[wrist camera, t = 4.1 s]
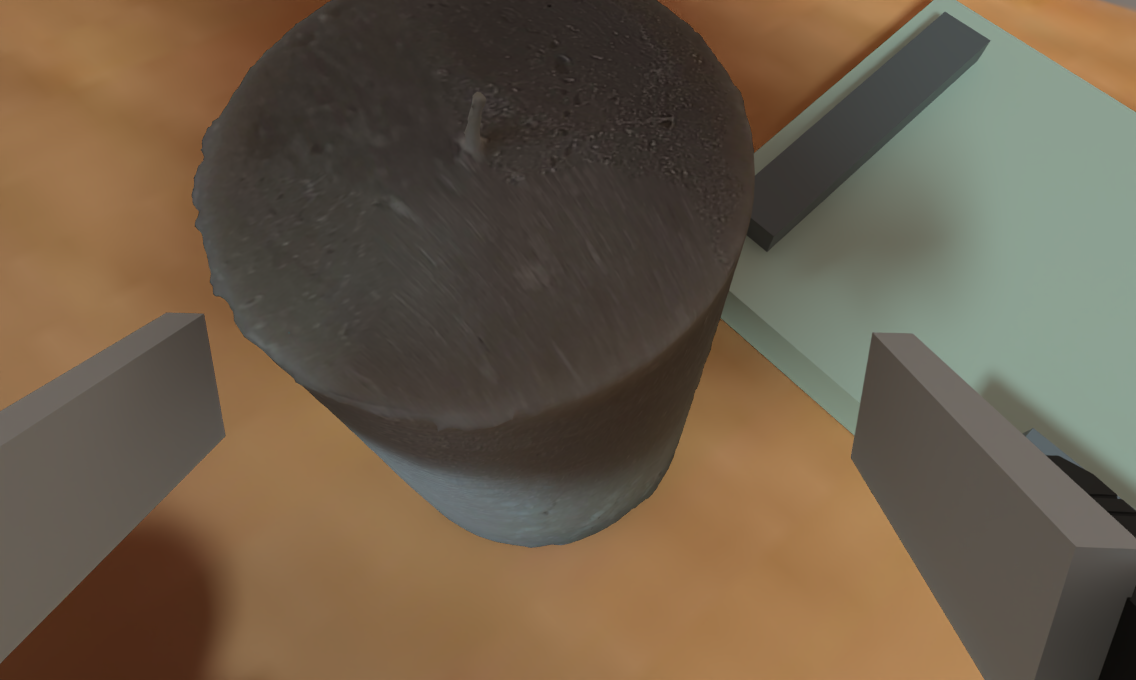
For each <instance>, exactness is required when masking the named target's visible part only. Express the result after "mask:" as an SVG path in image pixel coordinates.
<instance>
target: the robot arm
mask: <svg viewBox="0 0 1136 680" xmlns="http://www.w3.org/2000/svg"><path fill="white" fill-rule="evenodd" d="M224 437H225V430H224V425H223V419H222V413H221V408H220V402H219V396H218V390H217V385H216V379H215V373H214V368H213V362H212V356H211V351H210V345H209V339H208V334H207V328H206V322H205V316H204V314H195V313H165V314H163V315H162V316H160V317H158V318H157V319H155V320H153V321H152V322H150V323H148V324H147V325H145V326H143V327H142V328H140V329H138V330H137V331H135V332H133V333H131V334H130V335H128V336H126V337H125V338H123V339H121V340H120V341H118V342H116V343H115V344H113V345H111V346H110V347H108V348H106V349H104V350H103V351H101V352H99V353H98V354H96V355H94V356H93V357H91V358H89V359H88V360H86V361H84V362H83V363H81V364H79V365H78V366H76V367H74V368H72V369H71V370H69V371H67V372H66V373H64V374H62V375H61V376H59V377H57V378H56V379H54V380H52V381H51V382H49V383H47V384H45V385H44V386H42V387H40V388H39V389H37V390H35V391H34V392H32V393H30V394H29V395H27V396H25V397H24V398H22V399H20V400H19V401H17V402H15V403H13V404H12V405H10V406H8V407H7V408H5V409H3V410H2V411H0V663H1V662H2V661H3V660H4V659H5V658H6V657H7V656H8V655H9V654H10V653H11V652H12V651H13V650H14V649H15V648H16V647H17V646H18V645H19V644H20V643H21V642H22V641H23V640H24V639H25V638H26V637H27V636H28V635H29V634H30V633H31V632H32V631H33V630H34V629H35V628H36V627H37V626H38V625H39V624H40V623H41V622H42V621H43V620H44V619H45V618H46V617H47V616H48V615H49V614H50V613H51V612H52V611H53V610H54V609H55V608H56V607H57V606H58V605H59V604H60V603H61V602H62V601H63V600H64V599H65V598H66V597H67V596H68V595H69V594H70V593H71V592H72V591H73V590H74V589H75V588H76V587H77V586H78V585H79V583H80V582H81V581H82V580H83V579H84V578H85V577H86V576H87V575H88V574H89V573H90V572H91V571H92V570H93V569H94V568H95V567H96V566H97V565H98V564H99V563H100V562H101V561H102V560H103V559H104V558H105V557H106V556H107V555H108V554H109V553H110V552H111V551H112V550H113V549H114V548H115V547H116V546H117V545H118V544H119V543H120V542H121V541H122V540H123V539H124V538H125V537H126V536H127V535H128V534H129V533H130V532H131V531H132V530H133V529H134V528H135V527H136V526H137V525H138V524H139V523H140V522H141V521H142V520H143V519H144V518H145V517H146V516H147V515H148V514H149V513H150V512H151V511H152V510H153V509H154V508H155V507H156V506H157V505H158V504H159V503H160V502H161V501H162V500H163V499H164V498H165V497H166V496H167V495H168V494H169V493H170V492H171V491H172V490H173V489H174V488H175V487H176V486H177V485H178V484H179V483H180V482H181V481H182V480H183V479H184V478H185V476H186V475H187V474H188V473H189V472H190V471H191V470H192V469H193V468H194V467H195V466H196V465H197V464H198V463H199V462H200V461H201V460H202V459H203V458H204V457H205V456H206V455H207V454H208V453H209V452H210V451H211V450H212V449H213V448H214V447H215V446H216V445H217V444H218V443H219V442H220V441H221V440H222V439H223V438H224ZM851 459H852V460H853V462H854V464H855V465H856V467H857V469H858V470H859V472H860V474H861V475H862V477H863V479H864V480H865V482H866V484H867V485H868V487H869V489H870V490H871V492H872V494H873V495H874V497H875V499H876V500H877V502H878V504H879V505H880V507H881V509H882V510H883V512H884V514H885V515H886V517H887V519H888V520H889V522H890V524H891V525H892V527H893V528H894V530H895V532H896V533H897V535H898V537H899V538H900V540H901V542H902V543H903V545H904V547H905V548H906V550H907V552H908V553H909V555H910V557H911V558H912V560H913V562H914V563H915V565H916V567H917V568H918V570H919V572H920V573H921V575H922V577H923V578H924V580H925V582H926V583H927V585H928V587H929V588H930V590H931V592H932V593H933V595H934V597H935V598H936V600H937V601H938V603H939V605H940V606H941V608H942V610H943V611H944V613H945V615H946V616H947V618H948V620H949V621H950V623H951V625H952V626H953V628H954V630H955V631H956V633H957V635H958V636H959V638H960V640H961V641H962V643H963V645H964V646H965V648H966V650H967V651H968V653H969V655H970V656H971V658H972V660H973V661H974V663H975V665H976V666H977V668H978V670H979V671H980V673H981V674H982V676H983V678H984V679H985V680H1136V511H1135V510H1134V509H1133V508H1132V507H1131V506H1130V505H1128V504H1127V503H1126V502H1125V501H1124V500H1123V499H1118V498H1117V494H1116V493H1115V492H1113V491H1112V490H1111V489H1110V488H1109V487H1108V486H1107V485H1105V484H1104V483H1103V482H1102V481H1101V480H1100V479H1098V478H1097V477H1096V476H1095V475H1094V474H1092V473H1091V472H1089V471H1087V470H1085V469H1083V468H1081V467H1079V466H1077V465H1075V464H1074V463H1072V462H1070V461H1068V460H1066V459H1064V458H1062V457H1060V456H1057V455H1045V454H1044V453H1043V452H1042V451H1040V450H1039V449H1038V448H1037V447H1036V446H1035V445H1034V444H1033V443H1032V442H1031V441H1030V440H1028V439H1027V438H1026V437H1025V436H1024V435H1023V434H1022V433H1021V432H1020V431H1019V430H1018V429H1016V428H1015V427H1014V426H1013V425H1012V424H1011V423H1010V422H1009V421H1008V420H1007V419H1006V418H1004V417H1003V416H1002V415H1001V414H1000V413H999V412H998V411H997V410H996V409H995V408H994V407H993V406H991V405H990V404H989V403H988V402H987V401H986V400H985V399H984V398H983V397H982V396H981V395H979V394H978V393H977V392H976V391H975V390H974V389H973V388H972V387H971V386H970V385H969V384H967V383H966V382H965V381H964V380H963V379H962V378H961V377H960V376H959V375H958V374H957V373H955V372H954V371H953V370H952V369H951V368H950V367H949V366H948V365H947V364H946V363H945V362H943V361H942V360H941V359H940V358H939V357H938V356H937V355H936V354H935V353H934V352H933V351H932V350H930V349H929V348H928V347H927V346H926V345H925V344H924V343H923V342H922V341H921V340H920V339H918V338H917V337H916V336H915V335H914V334H913V333H880V332H872V337H871V343H870V349H869V355H868V361H867V366H866V372H865V378H864V384H863V390H862V395H861V401H860V407H859V413H858V419H857V425H856V430H855V436H854V442H853V448H852V454H851Z"/></svg>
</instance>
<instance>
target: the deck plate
mask: <svg viewBox="0 0 1136 680" xmlns="http://www.w3.org/2000/svg"><path fill="white" fill-rule="evenodd" d="M754 166H755V185H754V202H753V208H752V214H751V219H750V223H749V227H748V231H747V235H746V238H745V241H744V244H743V248H742V251H741V254H740V257H739V260H738V263H737V266H736V269H735V272H734V276H733V279H732V282H731V285H730V289H729V292H728V295H727V298H726V301H725V304H724V308H723V311H722V315H721V319H723V320H724V321H725V322H726V323H727V324H728V325H729V326H731V327H732V328H733V329H734V330H735V331H736V332H737V333H739V334H740V335H741V336H742V337H743V338H744V339H745V340H746V341H748V342H749V343H750V344H751V345H752V346H753V347H754V348H756V349H757V350H758V351H759V352H760V353H761V354H762V355H763V356H765V357H766V358H767V359H768V360H769V361H770V362H771V363H773V364H774V365H775V366H776V367H777V368H778V369H779V370H781V371H782V372H783V373H784V374H785V375H786V376H787V377H788V378H790V379H791V380H792V381H793V382H794V383H795V384H796V385H798V386H799V387H800V388H801V389H802V390H803V391H804V392H806V393H807V394H808V395H809V396H810V397H811V398H812V399H813V400H815V401H816V402H817V403H818V404H819V405H820V406H821V407H823V408H824V409H825V410H826V411H827V412H828V413H829V414H831V415H832V416H833V417H834V418H835V419H836V420H837V421H838V422H840V423H841V424H842V425H843V426H844V427H845V428H846V429H848V430H849V431H850V432H851V433H852V434H853V435H854V436H855V430H856V425H857V419H858V413H859V407H860V401H861V395H862V390H863V384H864V378H865V372H866V366H867V361H868V355H869V349H870V343H871V337H872V332H880V333H913V334H914V335H915V336H916V337H917V338H918V339H920V340H921V341H922V342H923V343H924V344H925V345H926V346H927V347H928V348H929V349H930V350H932V351H933V352H934V353H935V354H936V355H937V356H938V357H939V358H940V359H941V360H942V361H943V362H945V363H946V364H947V365H948V366H949V367H950V368H951V369H952V370H953V371H954V372H955V373H957V374H958V375H959V376H960V377H961V378H962V379H963V380H964V381H965V382H966V383H967V384H969V385H970V386H971V387H972V388H973V389H974V390H975V391H976V392H977V393H978V394H979V395H981V396H982V397H983V398H984V399H985V400H986V401H987V402H988V403H989V404H990V405H991V406H993V407H994V408H995V409H996V410H997V411H998V412H999V413H1000V414H1001V415H1002V416H1003V417H1004V418H1006V419H1007V420H1008V421H1009V422H1010V423H1011V424H1012V425H1013V426H1014V427H1015V428H1016V429H1018V430H1019V431H1020V432H1021V433H1022V434H1023V435H1024V436H1025V437H1026V438H1027V439H1028V440H1030V441H1031V442H1032V443H1033V444H1034V445H1035V446H1036V447H1037V448H1038V449H1039V450H1040V451H1042V452H1043V453H1044V454H1045V455H1057V456H1060V457H1062V458H1064V459H1066V460H1068V461H1070V462H1072V463H1074V464H1075V465H1077V466H1079V467H1081V468H1083V469H1085V470H1087V471H1089V472H1091V473H1092V474H1094V475H1095V476H1096V477H1097V478H1098V479H1100V480H1101V481H1102V482H1103V483H1104V484H1105V485H1107V486H1108V487H1109V488H1110V489H1111V490H1112V491H1113V492H1115V493H1116V494H1117V498H1118V499H1123V500H1124V501H1125V502H1126V503H1127V504H1128V505H1130V506H1131V507H1132V508H1133V509H1134V510H1135V511H1136V112H1134V111H1133V110H1131V109H1130V108H1128V107H1126V106H1125V105H1123V104H1122V103H1120V102H1118V101H1117V100H1115V99H1114V98H1112V97H1110V96H1109V95H1107V94H1105V93H1104V92H1102V91H1101V90H1099V89H1097V88H1096V87H1094V86H1093V85H1091V84H1089V83H1088V82H1086V81H1085V80H1083V79H1081V78H1080V77H1078V76H1077V75H1075V74H1073V73H1072V72H1070V71H1069V70H1067V69H1065V68H1064V67H1062V66H1061V65H1059V64H1057V63H1056V62H1054V61H1053V60H1051V59H1049V58H1048V57H1046V56H1045V55H1043V54H1041V53H1040V52H1038V51H1036V50H1035V49H1033V48H1032V47H1030V46H1028V45H1027V44H1025V43H1024V42H1022V41H1020V40H1019V39H1017V38H1016V37H1014V36H1012V35H1011V34H1009V33H1008V32H1006V31H1004V30H1003V29H1001V28H1000V27H998V26H996V25H995V24H993V23H992V22H990V21H988V20H987V19H985V18H984V17H982V16H980V15H979V14H977V13H975V12H974V11H972V10H971V9H969V8H967V7H966V6H964V5H963V4H961V3H959V2H958V1H956V0H933V1H932V2H931V3H930V4H929V5H927V6H926V7H925V8H924V9H923V10H922V11H920V12H919V13H918V14H917V15H916V16H915V17H913V18H912V19H911V20H910V21H909V22H908V23H906V24H905V25H904V26H903V27H902V28H900V29H899V30H898V31H897V32H896V33H895V34H893V35H892V36H891V37H890V38H889V39H888V40H886V41H885V42H884V43H883V44H882V45H881V46H879V47H878V48H877V49H876V50H875V51H873V52H872V53H871V54H870V55H869V56H868V57H866V58H865V59H864V60H863V61H862V62H861V63H859V64H858V65H857V66H856V67H855V68H853V69H852V70H851V71H850V72H849V73H848V74H846V75H845V76H844V77H843V78H842V79H841V80H839V81H838V82H837V83H836V84H835V85H834V86H832V87H831V88H830V89H829V90H828V91H826V92H825V93H824V94H823V95H822V96H821V97H819V98H818V99H817V100H816V101H815V102H814V103H812V104H811V105H810V106H809V107H808V108H807V109H805V110H804V111H803V112H802V113H801V114H799V115H798V116H797V117H796V118H795V119H794V120H792V121H791V122H790V123H789V124H788V125H787V126H785V127H784V128H783V129H782V130H781V131H780V132H778V133H777V134H776V135H775V136H774V137H772V138H771V139H770V140H769V141H768V142H767V143H765V144H764V145H763V146H762V147H761V148H760V149H758V150H757V151H756V152H755V153H754Z"/></svg>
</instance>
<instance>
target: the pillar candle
mask: <svg viewBox="0 0 1136 680" xmlns="http://www.w3.org/2000/svg"><path fill="white" fill-rule="evenodd" d="M201 151H202V153H203V155H204V159H203V160H204V161H203V162H202V163H201V164H200V165H199V166H198V169H197V173H196V175H195V177H194V188H193V192H192V198H193V204H194V206H195V207H196V209H197V210H198V211H199V215H198V218H197V219H196V222H195V227H196V228H197V229H198V230H199V231H200V232H201V233H202V236H203V244H204V248H205V251H206V253H207V258H208V263H209V268H210V270H211V277H210V283H211V284H212V286H213V294H214V295H215V296H221V297H222V298H224V299H225V300H226V301H227V302H228V304H229V305H230V308H231V309H232V311H233V313H234V321H235V323H236V325H237V326H238V328H239V329H240V331H241V332H242V334H243V336H244V337H245V338H247V339H248V340H250V341H251V342H252V343H254V344H255V345H257V346H258V347H259V348H261V349H262V350H263V351H264V352H265V353H266V354H267V355H268V356H269V357H270V358H271V359H272V360H273V361H274V362H275V363H276V364H277V365H279V366H280V367H281V368H282V369H283V370H285V371H286V372H287V373H288V374H289V375H291V376H292V377H293V378H294V379H295V381H296V382H297V383H298V384H300V385H302V386H303V387H304V388H305V389H307V390H308V391H309V392H310V393H311V394H312V395H313V396H314V397H315V398H316V399H317V400H318V401H319V402H321V403H322V404H323V405H324V406H325V407H327V408H328V409H329V410H330V411H331V412H332V413H333V414H334V415H335V416H336V417H337V418H338V419H340V420H341V421H342V422H343V423H344V424H345V425H346V426H347V427H348V428H349V429H350V430H351V431H352V432H354V433H355V434H356V435H357V436H358V437H359V438H360V439H361V440H362V441H363V442H364V443H365V444H366V445H367V446H368V447H369V448H370V449H371V450H373V451H374V452H375V453H376V454H377V455H378V456H379V457H380V458H381V459H382V460H383V461H384V462H385V463H386V464H387V465H388V466H389V467H390V468H391V469H392V470H393V471H394V472H395V473H396V474H397V475H399V476H400V477H401V478H402V479H403V480H404V481H405V482H406V483H407V484H408V485H409V486H411V487H412V488H413V489H414V490H415V491H416V492H418V493H419V494H420V495H421V496H422V497H423V498H424V499H425V500H427V501H428V502H429V503H430V504H431V505H432V506H433V507H435V508H436V509H437V510H438V511H439V512H440V513H442V514H443V515H444V516H445V517H447V518H448V519H449V520H451V521H452V522H454V523H456V524H457V525H459V526H460V527H462V528H464V529H466V530H467V531H469V532H471V533H473V534H475V535H478V536H480V537H483V538H486V539H489V540H492V541H496V542H500V543H506V544H512V545H519V546H525V547H529V548H533V547H540V546H545V545H551V544H554V545H564V544H568V543H572V542H575V541H578V540H581V539H583V538H585V537H588V536H590V535H593V534H595V533H597V532H599V531H601V530H603V529H605V528H607V527H608V526H610V525H611V524H613V523H615V522H617V521H618V520H619V519H620V518H622V517H623V516H624V515H626V514H627V513H628V512H629V511H630V510H631V509H633V508H635V507H637V505H638V504H640V503H641V502H643V501H644V500H645V499H647V498H649V497H650V496H651V495H652V494H653V492H654V491H655V490H656V489H657V487H658V485H659V483H660V482H661V480H662V478H663V477H664V475H665V474H666V472H667V470H668V468H669V466H670V464H671V461H672V459H673V457H674V453H675V449H676V448H677V445H678V443H679V439H680V436H681V434H682V431H683V428H684V425H685V421H686V418H687V415H688V413H689V410H690V406H691V404H692V401H693V397H694V393H695V390H696V389H697V387H698V384H699V382H700V378H701V375H702V371H703V368H704V364H705V362H706V359H707V357H708V355H709V353H710V350H711V345H712V341H713V337H714V335H715V332H716V329H717V326H718V323H719V320H720V318H721V315H722V311H723V308H724V304H725V301H726V298H727V295H728V292H729V289H730V285H731V282H732V279H733V276H734V272H735V269H736V266H737V263H738V260H739V257H740V254H741V251H742V248H743V244H744V241H745V238H746V235H747V231H748V227H749V223H750V219H751V214H752V208H753V202H754V185H755V166H754V149H753V142H752V133H751V129H750V125H749V122H748V119H747V116H746V113H745V108H744V101H743V98H742V95H741V92H740V91H739V90H738V88H737V87H736V86H734V84H733V83H732V81H731V79H730V77H729V75H728V73H727V71H726V70H725V69H724V67H723V66H722V64H721V63H720V62H719V61H718V60H717V58H716V56H715V54H713V52H712V51H711V49H710V48H709V47H708V46H707V44H706V43H705V41H704V40H703V38H702V37H701V35H700V34H699V33H696V32H694V30H693V28H692V27H691V26H690V25H689V24H688V23H686V22H685V21H683V20H681V19H680V18H679V17H678V16H676V15H675V14H674V13H673V12H672V11H670V10H669V9H668V8H667V7H665V6H664V5H662V4H661V3H660V2H658V1H657V0H331V1H330V2H327V3H326V4H325V5H324V6H322V7H321V8H319V9H318V10H316V11H315V12H314V13H312V14H311V15H309V16H308V17H307V18H305V19H304V20H302V21H301V22H299V23H297V24H295V26H294V27H293V28H292V29H291V30H290V31H288V32H287V33H286V34H285V35H284V36H283V37H282V38H281V39H280V40H279V41H278V42H276V43H275V44H274V45H273V46H272V47H271V48H270V49H269V50H267V51H266V52H265V53H264V54H263V56H262V57H261V58H260V59H259V60H258V61H257V62H256V64H255V65H254V66H252V67H251V68H250V70H249V71H248V73H247V74H246V76H245V77H244V79H243V81H242V82H241V85H240V86H239V88H238V89H237V90H236V91H235V92H234V93H233V95H232V97H231V99H230V101H229V103H228V105H227V106H226V107H225V109H224V110H223V112H222V114H221V115H220V117H219V118H218V119H216V120H214V121H213V122H212V125H211V127H208V128H207V131H206V134H205V135H204V137H203V140H202V149H201Z"/></svg>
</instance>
